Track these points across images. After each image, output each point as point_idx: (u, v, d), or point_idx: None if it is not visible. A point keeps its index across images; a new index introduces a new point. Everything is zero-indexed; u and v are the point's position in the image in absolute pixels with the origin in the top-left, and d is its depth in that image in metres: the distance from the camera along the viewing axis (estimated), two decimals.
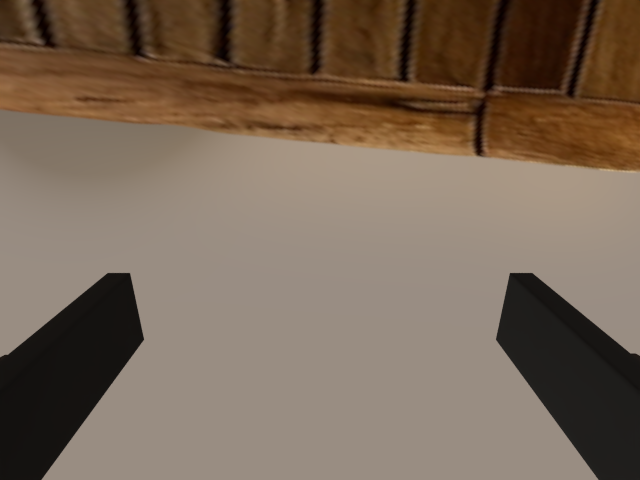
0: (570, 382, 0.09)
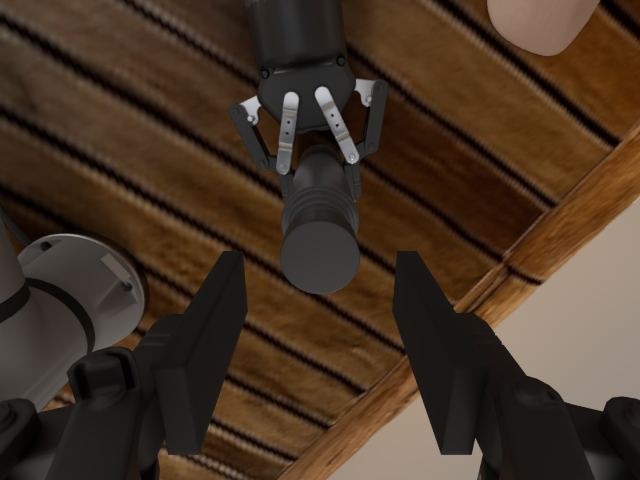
0: (418, 337, 0.11)
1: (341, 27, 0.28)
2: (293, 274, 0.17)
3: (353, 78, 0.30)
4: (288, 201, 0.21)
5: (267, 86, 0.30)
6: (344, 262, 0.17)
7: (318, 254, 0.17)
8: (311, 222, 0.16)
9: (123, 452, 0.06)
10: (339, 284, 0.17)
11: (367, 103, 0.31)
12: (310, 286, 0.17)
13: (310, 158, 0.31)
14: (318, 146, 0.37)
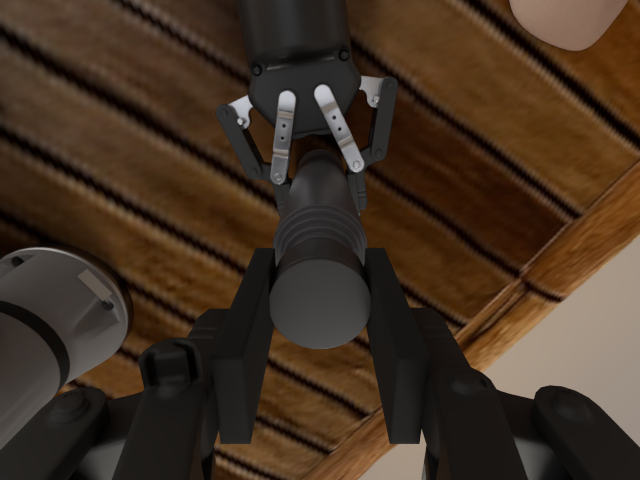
0: (376, 331, 0.11)
1: (344, 16, 0.24)
2: (285, 325, 0.13)
3: (358, 75, 0.26)
4: (281, 224, 0.17)
5: (259, 84, 0.26)
6: (351, 310, 0.13)
7: (318, 300, 0.13)
8: (308, 260, 0.12)
9: (188, 442, 0.06)
10: (345, 337, 0.13)
11: (374, 104, 0.27)
12: (307, 340, 0.13)
13: (309, 166, 0.27)
14: (318, 151, 0.33)
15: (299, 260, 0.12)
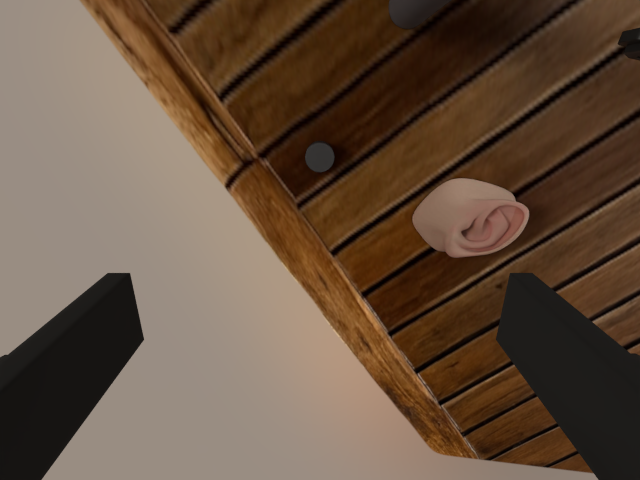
0: (570, 382, 0.09)
1: None
2: (308, 156, 0.46)
3: None
4: None
5: None
6: (326, 164, 0.46)
7: (320, 155, 0.46)
8: (325, 144, 0.45)
9: None
10: (319, 170, 0.46)
11: None
12: (310, 164, 0.46)
13: None
14: None
15: (323, 142, 0.45)
